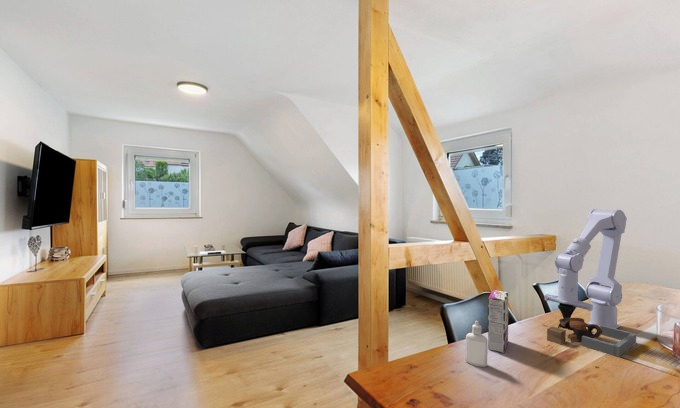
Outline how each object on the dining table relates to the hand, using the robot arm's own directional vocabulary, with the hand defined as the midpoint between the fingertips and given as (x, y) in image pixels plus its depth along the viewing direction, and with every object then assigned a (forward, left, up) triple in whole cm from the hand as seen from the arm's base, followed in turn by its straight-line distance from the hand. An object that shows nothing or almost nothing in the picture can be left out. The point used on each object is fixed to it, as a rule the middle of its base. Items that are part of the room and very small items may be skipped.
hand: (567, 325), depth 117 cm
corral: (+1, +11, -2) cm, 12 cm away
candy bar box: (+33, -8, -3) cm, 34 cm away
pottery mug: (+5, +5, -3) cm, 7 cm away
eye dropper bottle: (+50, -5, -3) cm, 50 cm away
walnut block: (+13, +1, -3) cm, 13 cm away
